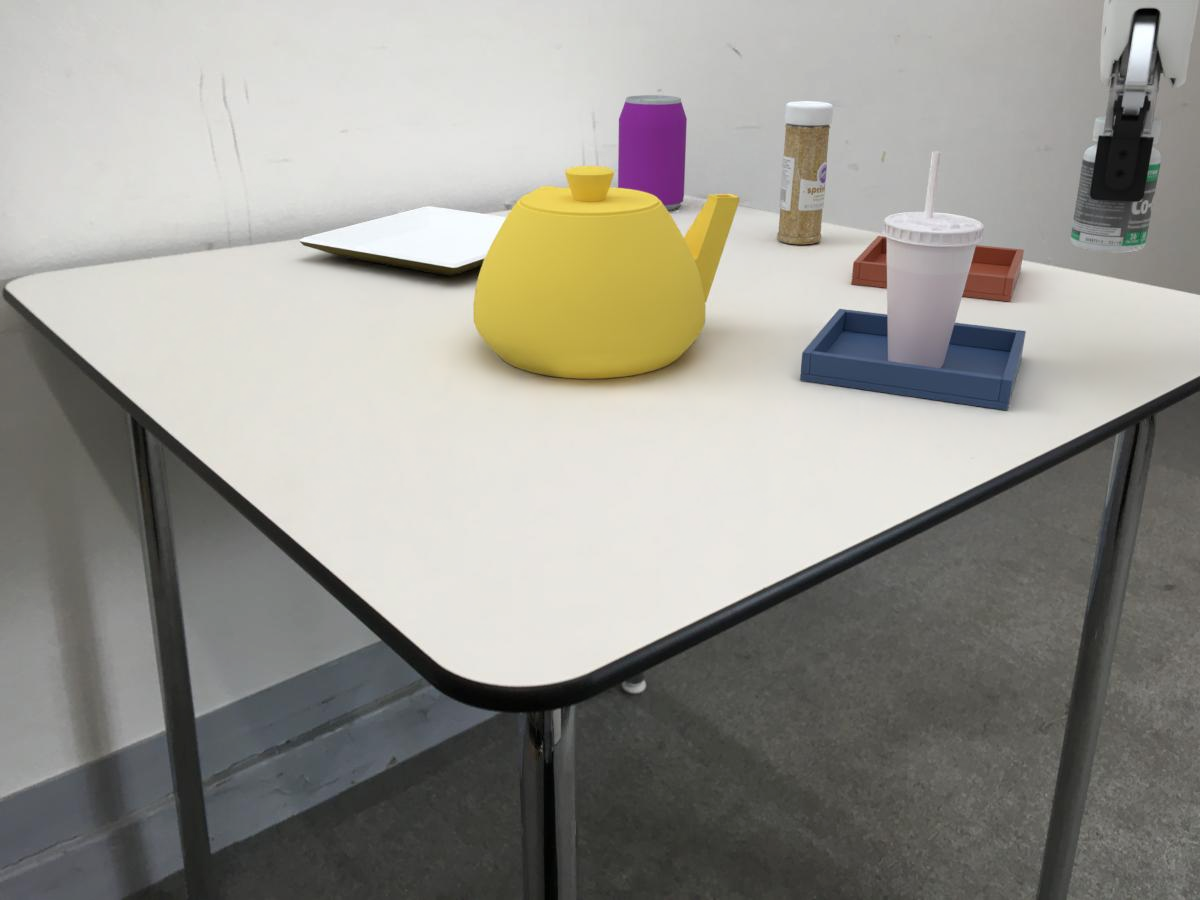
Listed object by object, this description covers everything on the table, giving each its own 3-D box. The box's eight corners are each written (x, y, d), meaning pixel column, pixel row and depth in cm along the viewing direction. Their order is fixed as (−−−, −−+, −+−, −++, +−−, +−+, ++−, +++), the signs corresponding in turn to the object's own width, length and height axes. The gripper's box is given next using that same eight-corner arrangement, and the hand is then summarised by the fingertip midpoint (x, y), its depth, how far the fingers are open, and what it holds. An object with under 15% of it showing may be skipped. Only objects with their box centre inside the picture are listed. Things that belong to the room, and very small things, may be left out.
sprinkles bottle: (818, 247, 108) (830, 106, 103) (772, 243, 109) (782, 104, 104) (823, 237, 112) (836, 101, 107) (779, 234, 113) (789, 99, 108)
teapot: (525, 401, 69) (520, 198, 64) (435, 321, 85) (425, 153, 80) (789, 358, 77) (804, 174, 72) (662, 293, 93) (667, 138, 87)
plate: (299, 260, 102) (296, 238, 101) (428, 224, 117) (427, 205, 116) (456, 289, 93) (454, 265, 92) (574, 246, 108) (574, 225, 107)
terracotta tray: (1020, 271, 100) (1024, 249, 99) (1009, 301, 91) (1013, 278, 90) (875, 256, 105) (877, 235, 104) (851, 284, 96) (853, 261, 95)
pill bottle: (1130, 257, 72) (1153, 124, 68) (1058, 247, 75) (1077, 120, 71) (1155, 245, 75) (1178, 117, 72) (1085, 235, 78) (1104, 112, 75)
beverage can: (688, 201, 129) (692, 95, 124) (677, 214, 122) (681, 102, 118) (625, 198, 131) (626, 93, 126) (611, 210, 124) (612, 100, 119)
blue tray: (1021, 357, 78) (1025, 330, 77) (1007, 410, 68) (1012, 380, 67) (836, 333, 82) (839, 308, 82) (799, 380, 73) (802, 352, 72)
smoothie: (920, 342, 79) (946, 143, 73) (984, 369, 74) (1017, 157, 68) (848, 354, 76) (869, 149, 71) (910, 383, 71) (938, 164, 65)
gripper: (1249, -125, 58) (1183, 220, 65) (1224, -106, 72) (1173, 176, 79) (1095, -118, 61) (1048, 212, 68) (1100, -100, 75) (1061, 171, 82)
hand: (1116, 189), depth 73 cm, fingers closed on pill bottle, 4 cm apart
